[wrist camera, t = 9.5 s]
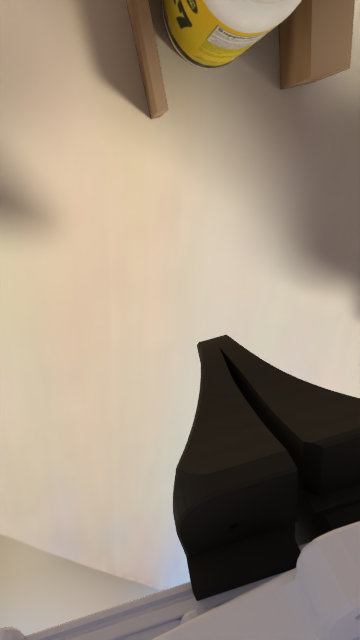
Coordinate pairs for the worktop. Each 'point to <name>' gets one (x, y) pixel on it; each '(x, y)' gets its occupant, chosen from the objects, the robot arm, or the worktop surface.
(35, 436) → the worktop surface
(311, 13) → the tag dock
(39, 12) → the worktop surface
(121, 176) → the worktop surface
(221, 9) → the supplement bottle
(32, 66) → the worktop surface
